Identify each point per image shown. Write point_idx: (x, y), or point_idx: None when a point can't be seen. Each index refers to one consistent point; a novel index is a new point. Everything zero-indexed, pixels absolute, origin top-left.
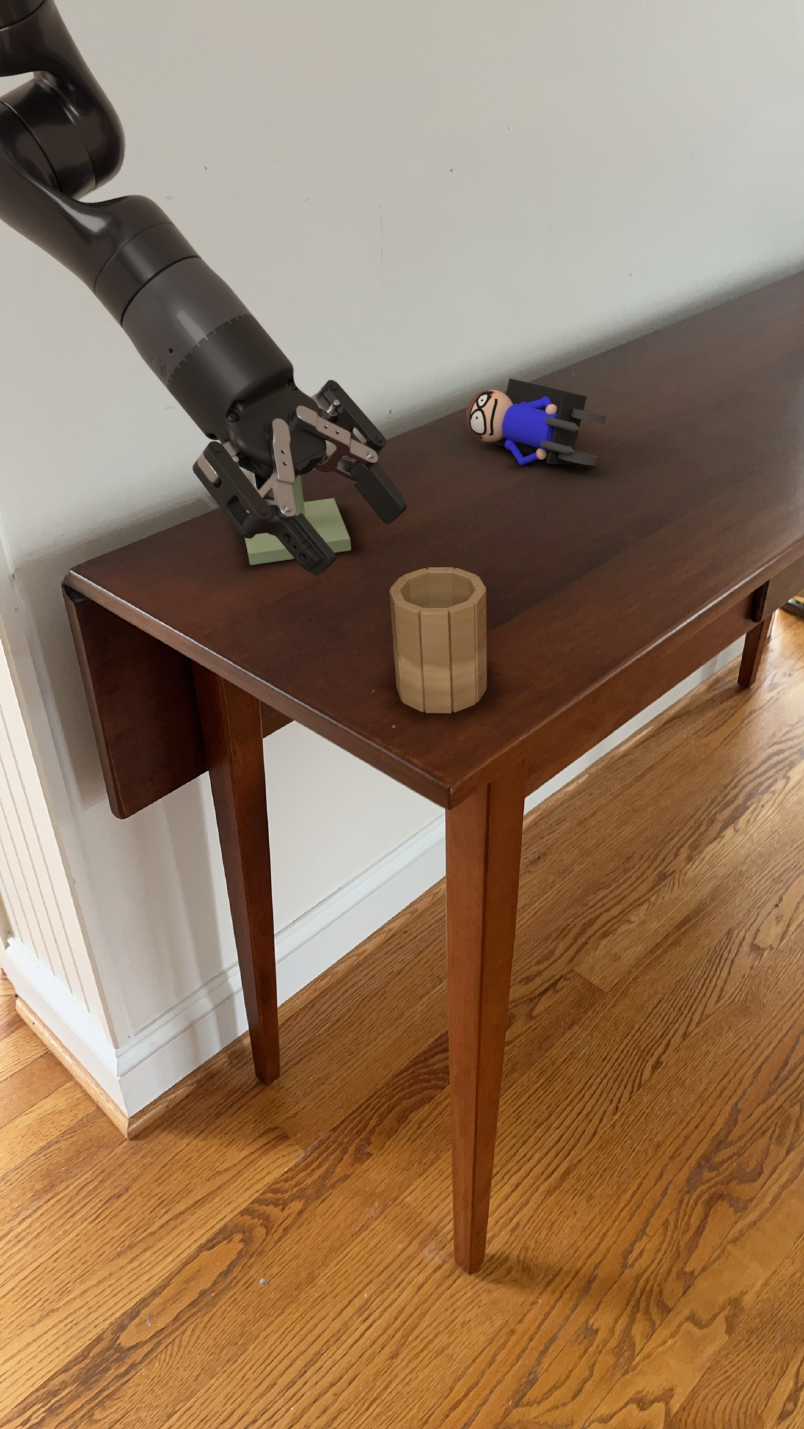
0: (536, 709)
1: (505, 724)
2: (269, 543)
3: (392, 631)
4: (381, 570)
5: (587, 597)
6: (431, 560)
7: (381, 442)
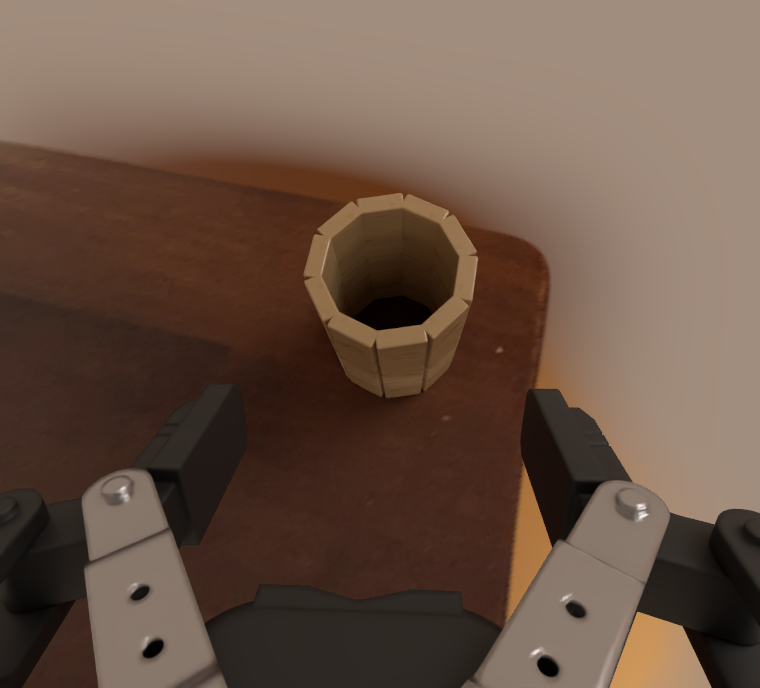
0: None
1: None
2: None
3: (431, 363)
4: None
5: (109, 274)
6: None
7: (17, 499)
